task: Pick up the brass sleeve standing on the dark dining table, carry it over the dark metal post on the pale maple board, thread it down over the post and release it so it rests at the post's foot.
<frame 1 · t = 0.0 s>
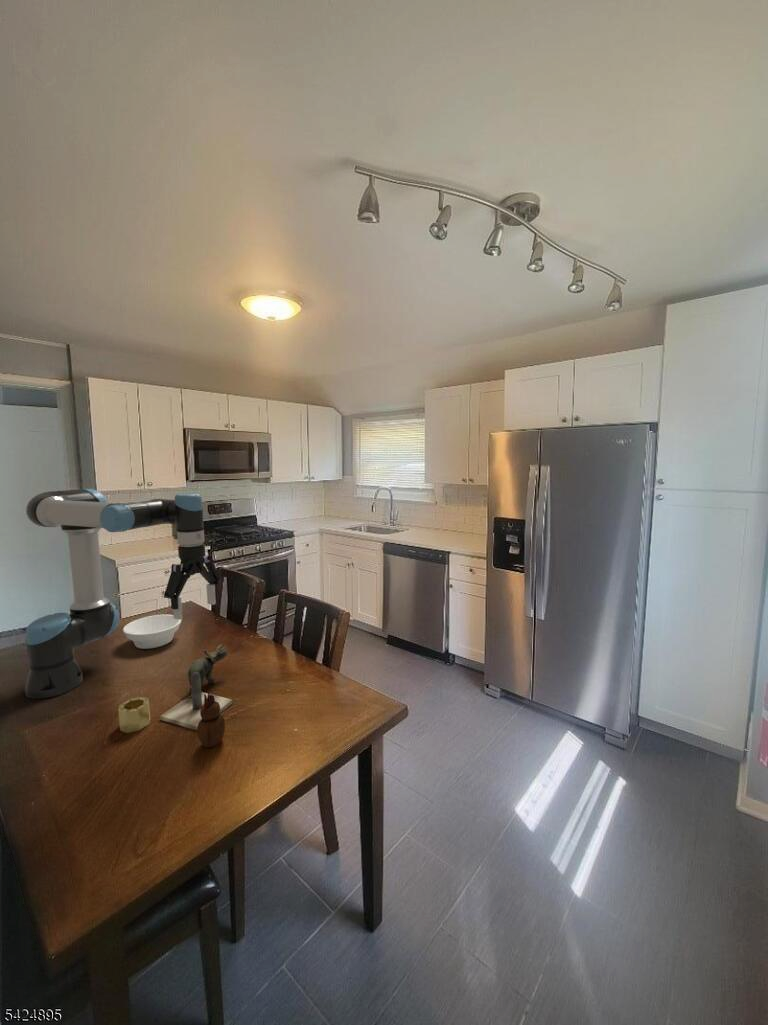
hand: (195, 611, 131), 28 cm above the table, fingers open, 13 cm apart
dinosaur figurine: (199, 688, 138), on the table, touching post board
bowl: (154, 643, 173), on the table
sleeve: (135, 724, 120), on the table
wooden figurine: (212, 743, 112), on the table
post board: (197, 711, 126), on the table
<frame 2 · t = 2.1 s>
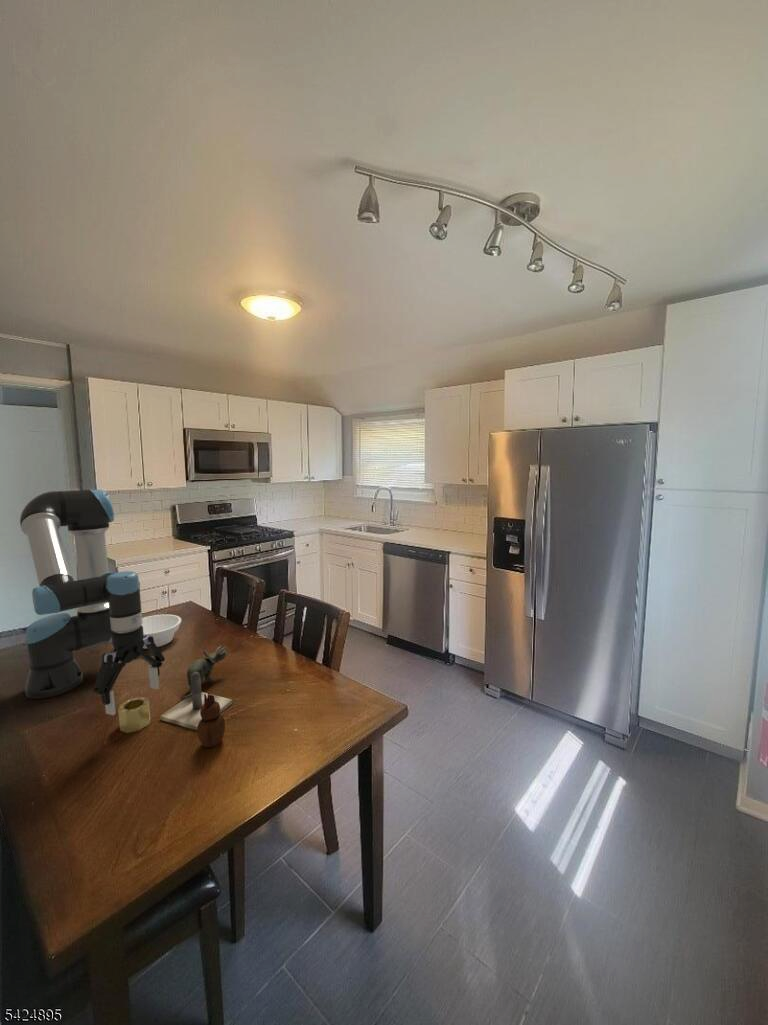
hand: (133, 700, 119), 7 cm above the table, fingers open, 13 cm apart
dinosaur figurine: (199, 689, 139), on the table, touching post board
everything else where it was.
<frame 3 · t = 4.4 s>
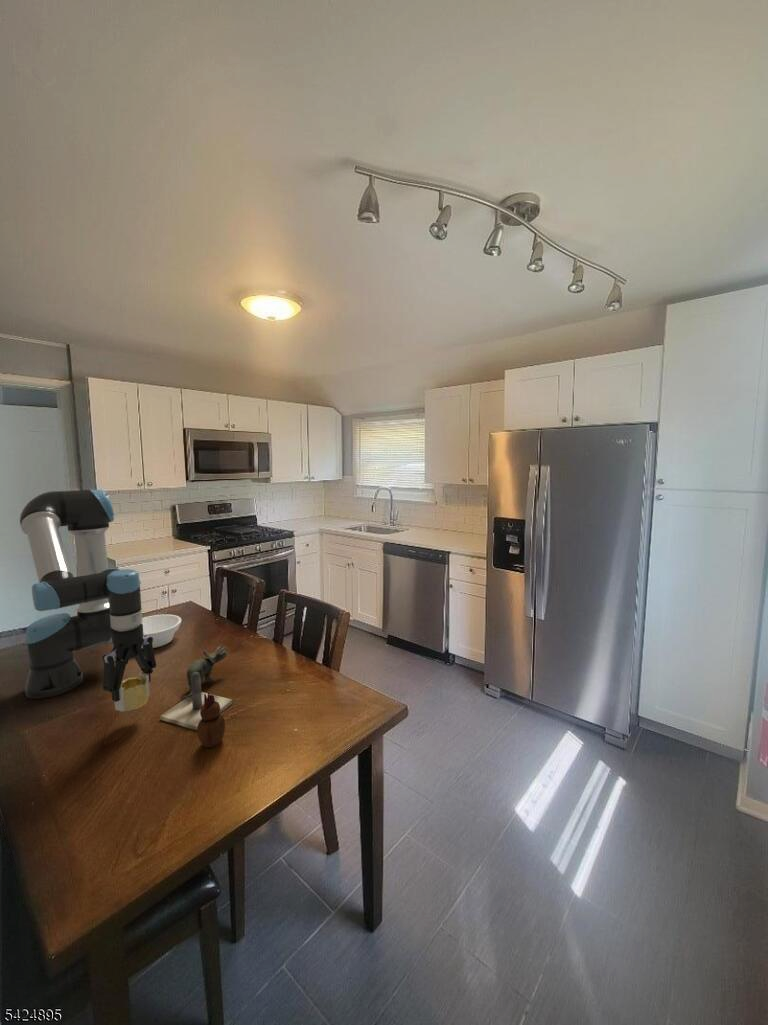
hand: (133, 701, 120), 7 cm above the table, fingers closed on sleeve, 7 cm apart
sleeve: (133, 702, 120), point 6 cm above the table, touching gripper
everything else where it was.
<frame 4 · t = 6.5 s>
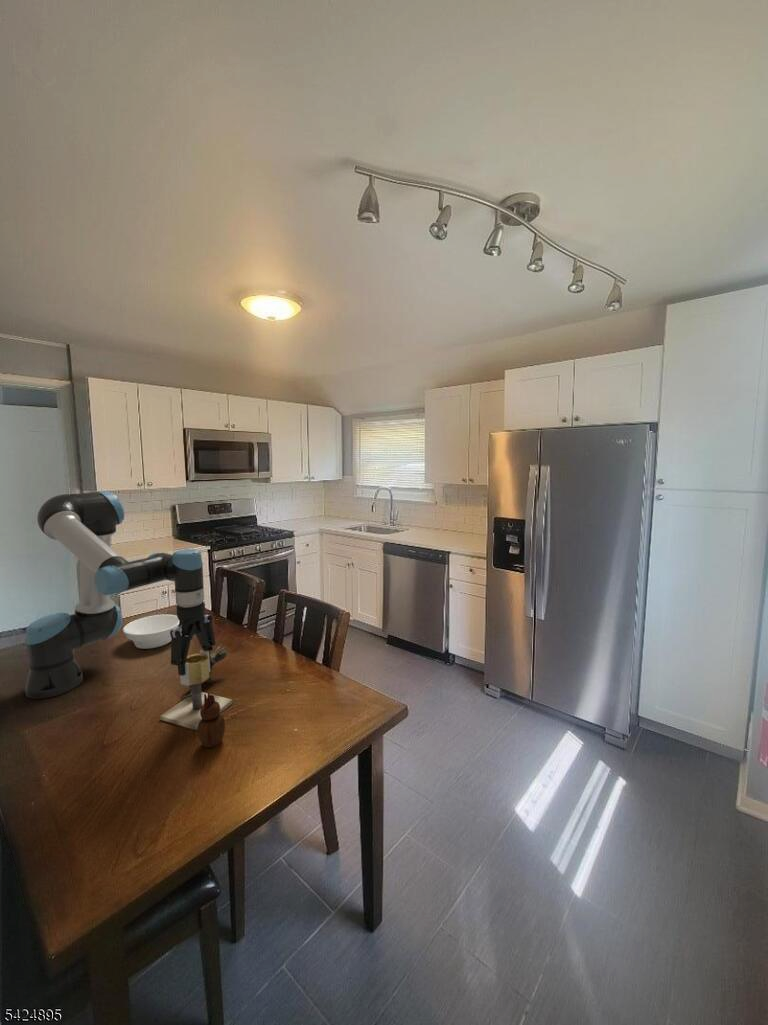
hand: (195, 677, 124), 11 cm above the table, fingers closed on sleeve, 7 cm apart
sleeve: (196, 678, 124), point 11 cm above the table, touching gripper
everything else where it was.
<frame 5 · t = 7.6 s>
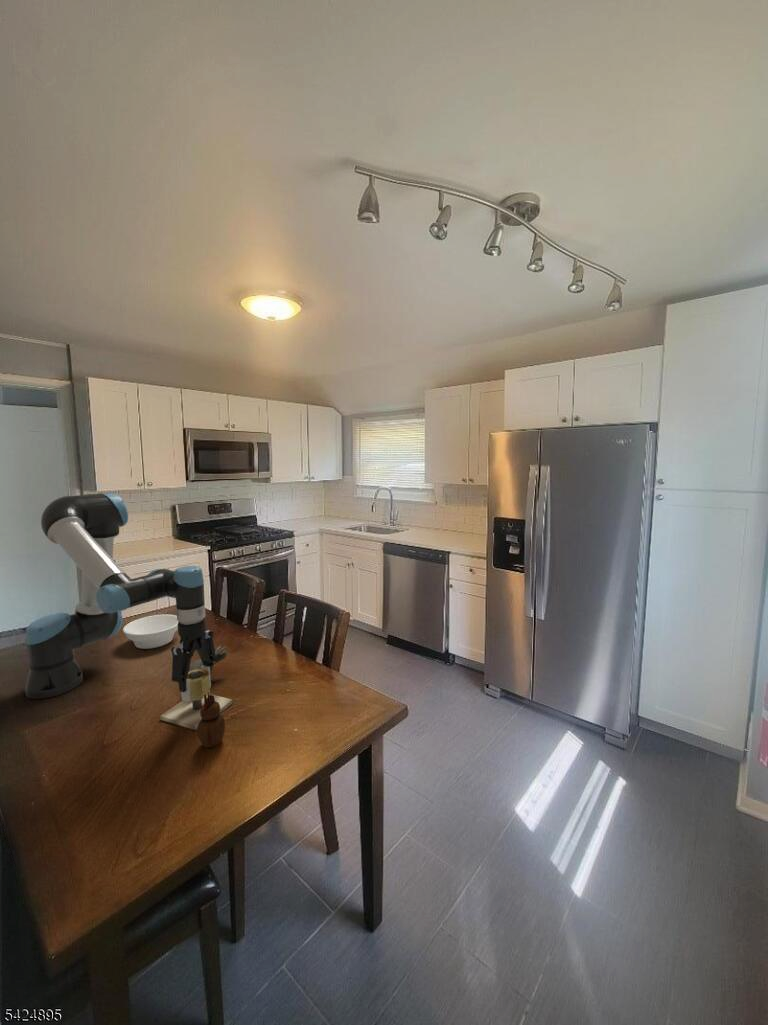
hand: (196, 693, 125), 6 cm above the table, fingers closed on sleeve, 7 cm apart
sleeve: (197, 694, 125), point 6 cm above the table, touching gripper
everything else where it was.
when the fingers open (3 cm above the table, at t = 8.6 s): sleeve drops 1 cm, resting on post board.
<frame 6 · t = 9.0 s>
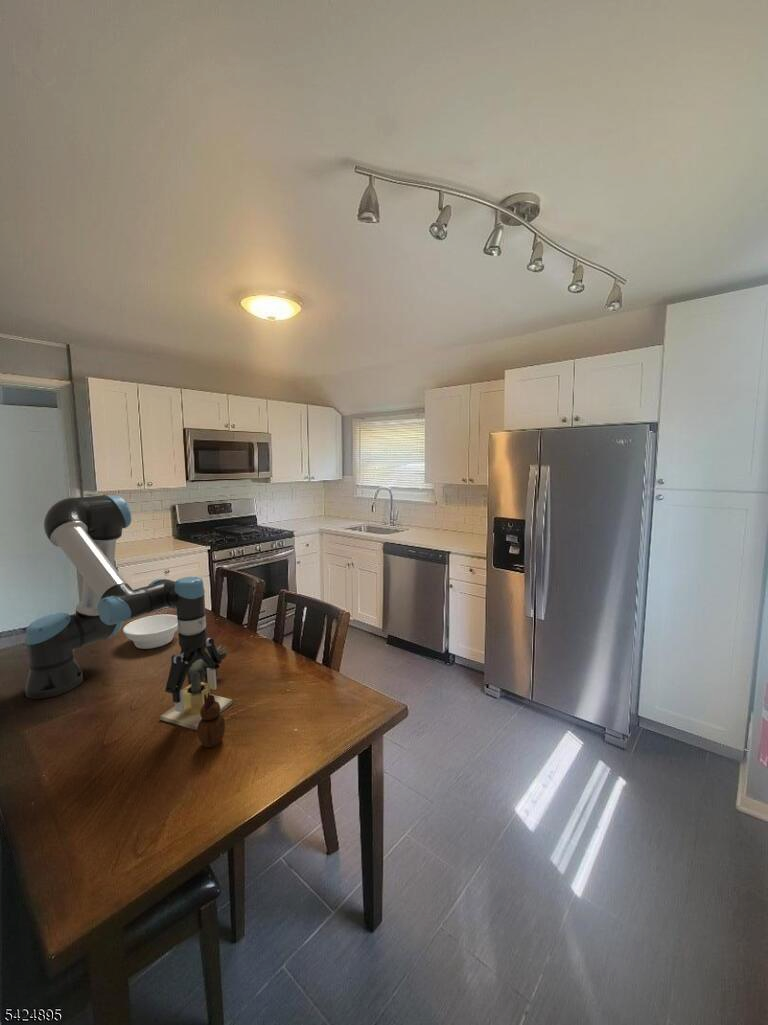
hand: (196, 699, 125), 4 cm above the table, fingers open, 12 cm apart
sleeve: (197, 707, 126), point 1 cm above the table, touching post board
everything else where it was.
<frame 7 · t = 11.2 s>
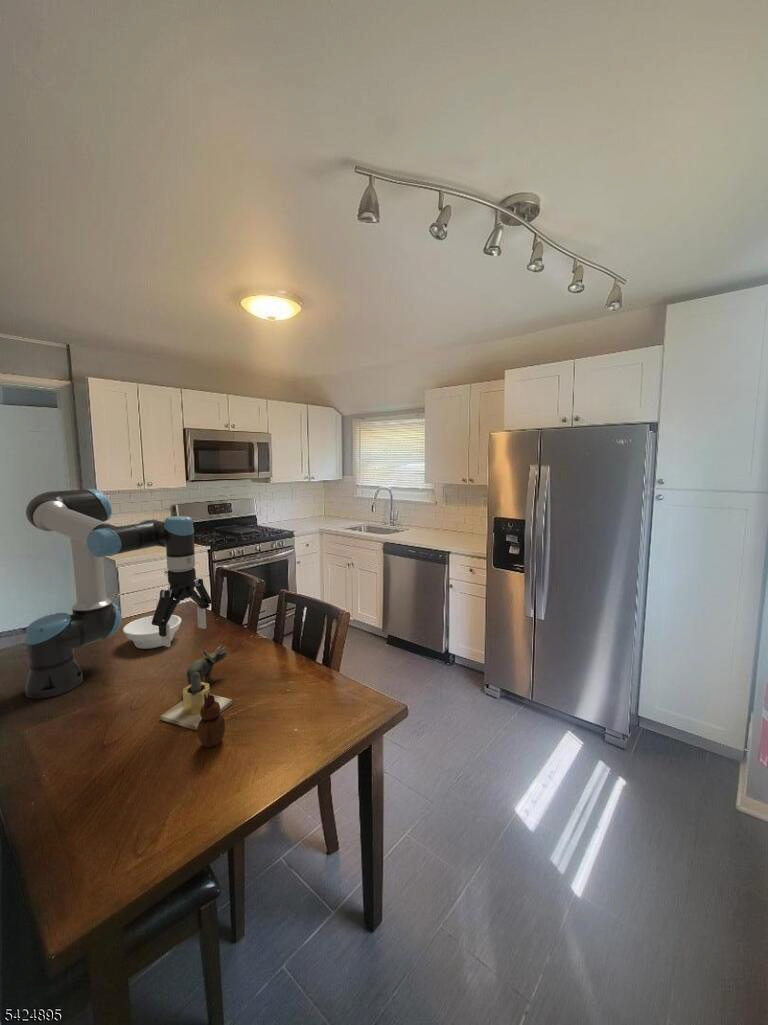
hand: (185, 636, 128), 22 cm above the table, fingers open, 13 cm apart
nothing on the table moved.
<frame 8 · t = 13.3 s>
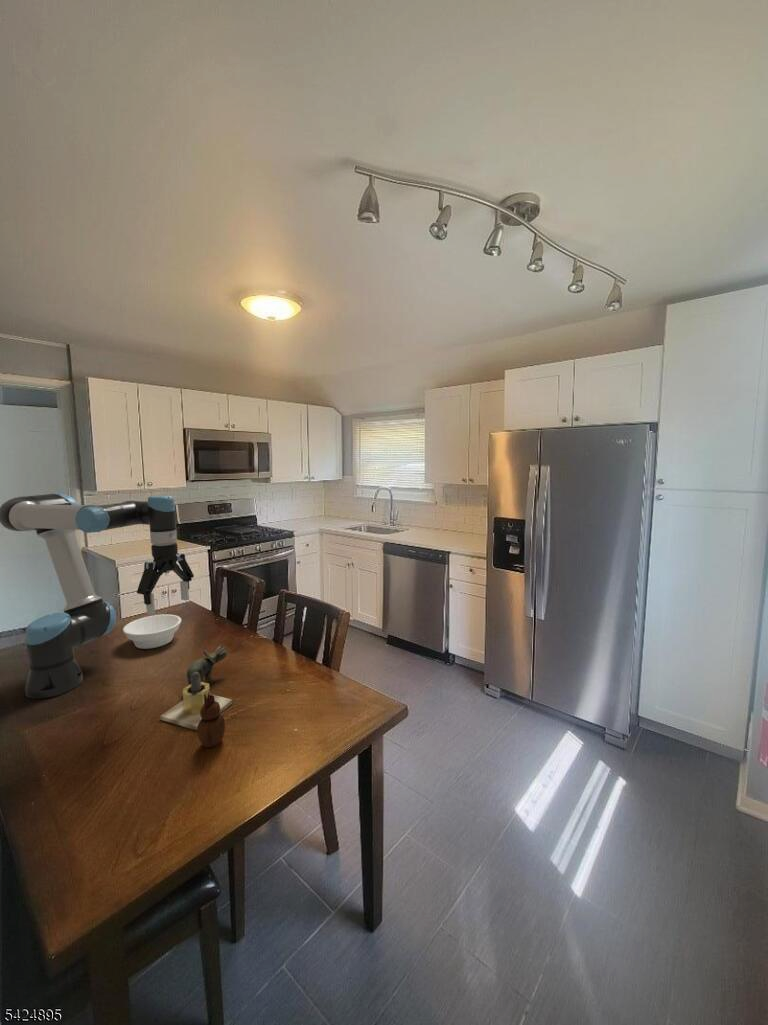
hand: (168, 606, 139), 27 cm above the table, fingers open, 13 cm apart
nothing on the table moved.
at the end: sleeve 0.0 cm off-centre on the post board, point 1.2 cm above the post board's base; the gripper is holding nothing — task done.
